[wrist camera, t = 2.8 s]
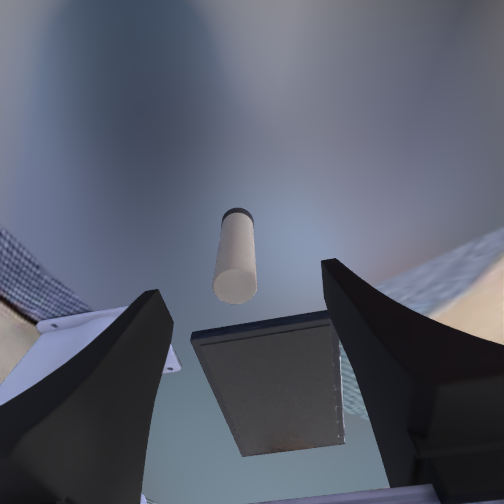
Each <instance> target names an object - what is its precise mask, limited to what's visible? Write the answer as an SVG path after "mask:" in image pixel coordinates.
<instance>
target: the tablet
mask: <svg viewBox="0 0 504 504" xmlns="http://www.w3.org/2000/svg"><path fill="white" fill-rule="evenodd" d="M190 341H191V344H192V346H193V348H194V350H195V353H196V355H197V357H198V359H199V362H200V364H201V366H202V368H203V371H204V373H205V375H206V377H207V379H208V382H209V384H210V386H211V388H212V390H213V393H214V395H215V397H216V399H217V402H218V404H219V406H220V408H221V411H222V413H223V415H224V417H225V419H226V422H227V424H228V426H229V428H230V431H231V433H232V435H233V437H234V440H235V442H236V444H237V446H238V448H239V451H240V453H241V455H242V457H246V456H253V455H262V454H269V453H278V452H286V451H294V450H301V449H309V448H317V447H325V446H333V445H341V444H345V431H344V412H343V394H342V375H341V356H340V339H339V337H338V335H337V332H336V330H335V328H334V326H333V323H332V321H331V319H330V316H329V313H328V310H324V311H318V312H312V313H306V314H299V315H294V316H287V317H281V318H275V319H269V320H263V321H256V322H250V323H244V324H238V325H232V326H226V327H220V328H214V329H208V330H201V331H195V332H192V334H191V339H190Z"/></svg>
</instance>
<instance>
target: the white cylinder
mask: <svg viewBox="0 0 504 504" xmlns="http://www.w3.org/2000/svg"><path fill="white" fill-rule="evenodd" d="M253 229H254V224H253V218H252V216H251V214H250V213H249V212H248V211H247V210H245V209H242V208H233V209H230V210H228V211H227V212H226V213H225V214H224V216H223V219H222V226H221V234H220V240H219V247H218V254H217V259H216V266H215V272H214V278H213V291H214V293H215V295H216V296H217V297H218V298H219V299H220V300H222V301H223V302H225V303H228V304H242V303H245V302H247V301H249V300H250V299H251V298H252V297H253V296H254V295H255V293H256V291H257V274H256V260H255V245H254V231H253Z"/></svg>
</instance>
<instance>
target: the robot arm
mask: <svg viewBox="0 0 504 504" xmlns="http://www.w3.org/2000/svg"><path fill="white" fill-rule="evenodd" d="M321 267H322V280H323V292H324V299H325V303H326V306H327V309H328V313H329V316H330V319H331V321H332V323H333V326H334V328H335V330H336V332H337V335H338V337H339V339H340V341H341V343H342V346H343V348H344V350H345V352H346V355H347V357H348V359H349V361H350V363H351V366H352V369H353V371H354V374H355V376H356V379H357V382H358V385H359V388H360V391H361V394H362V397H363V400H364V404H365V407H366V410H367V413H368V416H369V419H370V422H371V425H372V428H373V432H374V435H375V438H376V441H377V445H378V448H379V451H380V454H381V458H382V461H383V465H384V468H385V471H386V475H387V478H388V481H389V485H390V488H387V489H378V490H369V491H360V492H351V493H342V494H332V495H323V496H314V497H305V498H296V499H287V500H278V501H269V502H259V503H251V504H504V345H502V344H498V343H495V342H492V341H489V340H485V339H482V338H479V337H476V336H473V335H470V334H468V333H465V332H462V331H459V330H457V329H454V328H451V327H449V326H446V325H444V324H441V323H439V322H437V321H435V320H432V319H430V318H428V317H426V316H423V315H421V314H419V313H417V312H415V311H413V310H411V309H409V308H407V307H405V306H403V305H402V304H400V303H398V302H396V301H394V300H392V299H391V298H389V297H387V296H386V295H384V294H383V293H381V292H380V291H378V290H377V289H375V288H374V287H372V286H371V285H369V284H368V283H367V282H365V281H364V280H362V279H361V278H360V277H358V276H357V275H356V274H355V273H353V272H352V271H351V270H349V269H348V268H347V267H346V266H345V265H344V264H342V263H341V262H340V261H339V260H337V259H336V258H333V259H327V260H322V261H321ZM173 324H174V322H173V320H172V317H171V315H170V313H169V311H168V309H167V307H166V305H165V302H164V300H163V298H162V296H161V294H160V292H159V290H158V289H156V290H149V291H145V292H144V293H143V294H141V295H140V296H139V297H138V298H137V299H136V300H135V301H134V302H133V303H132V304H131V305H128V306H122V307H117V308H111V309H105V310H99V311H94V312H88V313H82V314H77V315H71V316H65V317H59V318H54V319H48V320H42V321H40V322H39V323H38V324H37V325H36V328H37V330H38V331H39V332H40V333H41V335H40V337H39V338H38V339H37V340H36V342H35V343H34V344H33V345H32V346H31V348H30V349H29V350H28V351H27V353H26V354H25V355H24V356H23V358H22V359H21V360H20V361H19V362H18V364H17V365H16V366H15V367H14V369H13V370H12V371H11V372H10V373H9V375H8V376H7V377H6V378H5V380H4V381H3V382H2V383H1V384H0V504H147V502H146V499H145V496H144V495H143V493H142V492H141V491H142V481H143V473H144V465H145V457H146V449H147V443H148V436H149V430H150V424H151V418H152V412H153V407H154V401H155V397H156V394H157V389H158V386H159V383H160V379H161V376H162V374H165V373H171V372H178V371H180V370H181V367H182V364H181V362H180V360H179V358H178V357H177V354H176V352H175V350H174V348H173V346H172V344H171V339H172V332H173Z"/></svg>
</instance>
